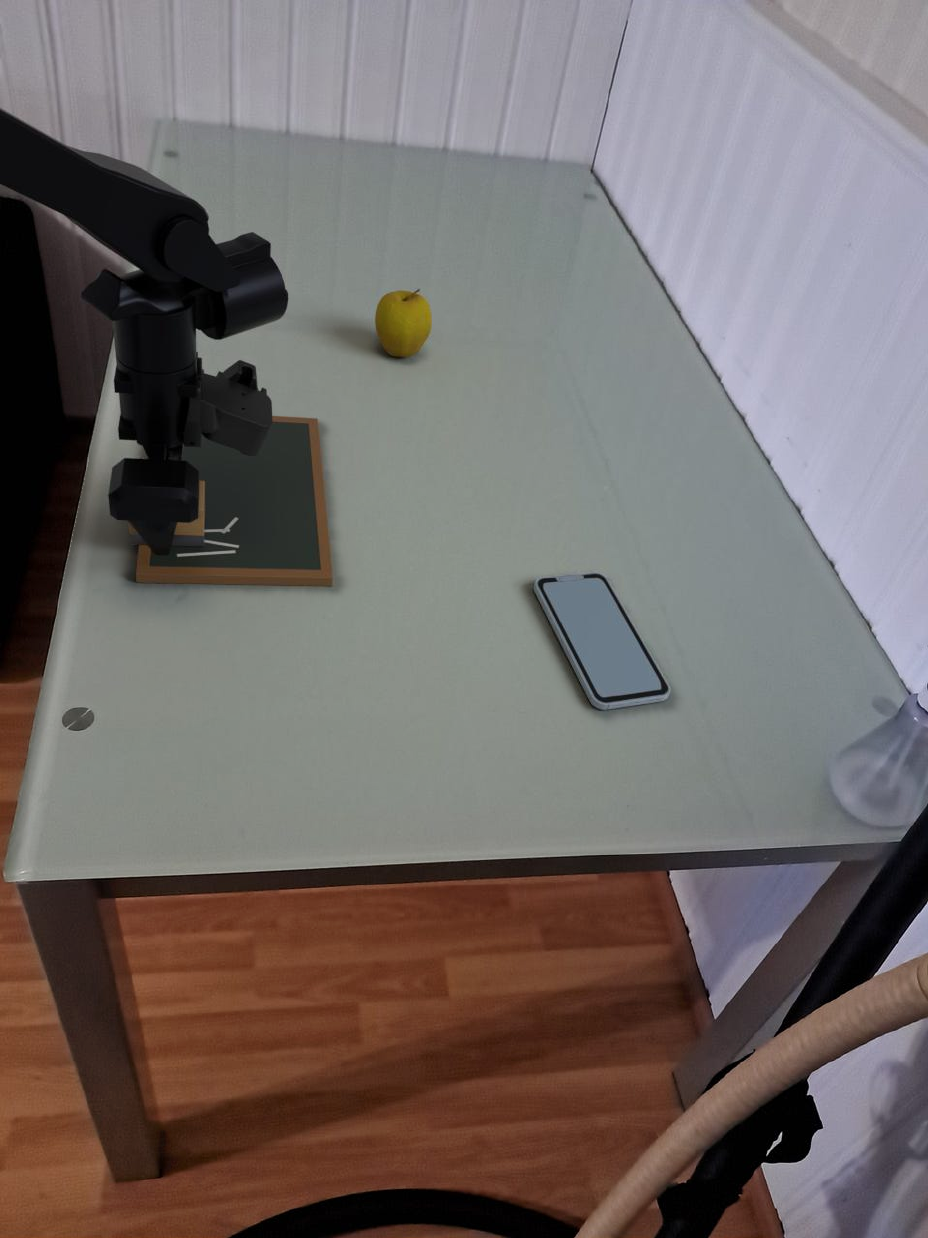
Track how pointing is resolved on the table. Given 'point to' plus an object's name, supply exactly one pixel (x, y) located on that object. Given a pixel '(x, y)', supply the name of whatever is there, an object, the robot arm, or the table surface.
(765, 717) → the table surface
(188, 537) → the eraser
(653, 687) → the smartphone
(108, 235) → the robot arm
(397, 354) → the apple
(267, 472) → the chalkboard
